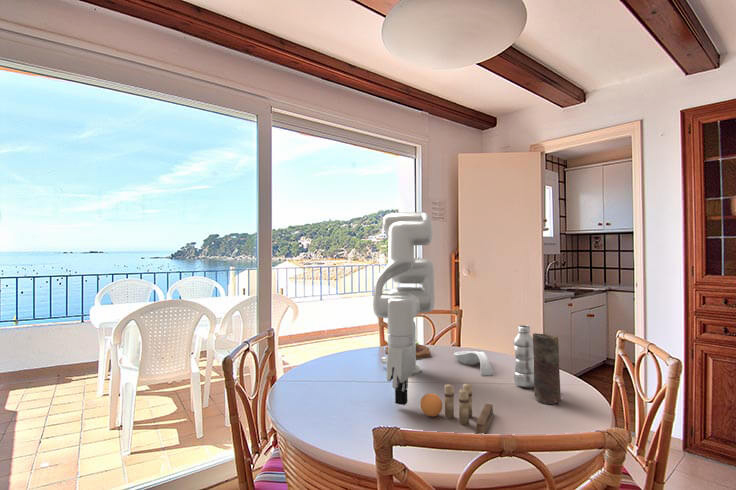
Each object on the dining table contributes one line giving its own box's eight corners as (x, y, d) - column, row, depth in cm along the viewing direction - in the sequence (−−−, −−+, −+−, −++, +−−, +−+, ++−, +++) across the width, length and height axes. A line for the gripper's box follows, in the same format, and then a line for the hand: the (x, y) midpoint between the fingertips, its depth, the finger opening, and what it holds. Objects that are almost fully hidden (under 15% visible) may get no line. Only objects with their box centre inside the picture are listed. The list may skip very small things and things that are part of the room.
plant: (391, 362, 166) (390, 334, 166) (381, 350, 185) (381, 325, 185) (437, 359, 169) (437, 332, 169) (423, 348, 188) (423, 324, 188)
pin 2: (458, 424, 105) (457, 392, 105) (460, 420, 108) (459, 388, 108) (467, 426, 104) (467, 393, 104) (469, 422, 106) (469, 390, 107)
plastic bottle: (537, 390, 130) (536, 328, 130) (515, 389, 131) (514, 328, 131) (533, 383, 136) (532, 324, 136) (512, 382, 137) (511, 324, 138)
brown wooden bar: (476, 433, 100) (476, 423, 100) (485, 412, 113) (485, 403, 113) (484, 434, 99) (484, 424, 99) (492, 413, 112) (492, 404, 112)
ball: (440, 410, 106) (426, 423, 108) (450, 404, 111) (436, 418, 113) (425, 391, 109) (412, 404, 111) (435, 386, 114) (423, 400, 116)
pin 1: (462, 417, 110) (461, 386, 110) (464, 413, 112) (463, 383, 112) (471, 418, 109) (471, 387, 109) (473, 415, 111) (472, 384, 111)
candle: (529, 395, 125) (528, 331, 125) (551, 395, 126) (550, 331, 126) (542, 405, 117) (541, 337, 118) (565, 404, 118) (564, 336, 118)
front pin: (443, 417, 109) (443, 386, 110) (446, 414, 112) (445, 383, 112) (452, 419, 108) (452, 387, 108) (455, 415, 111) (454, 385, 111)
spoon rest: (450, 359, 168) (449, 342, 168) (476, 358, 169) (476, 341, 169) (472, 377, 144) (472, 357, 144) (503, 375, 146) (502, 356, 146)
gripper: (397, 333, 125) (398, 393, 124) (378, 344, 111) (379, 410, 111) (421, 335, 121) (421, 396, 121) (403, 347, 108) (404, 415, 108)
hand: (401, 403), depth 116 cm, fingers closed
